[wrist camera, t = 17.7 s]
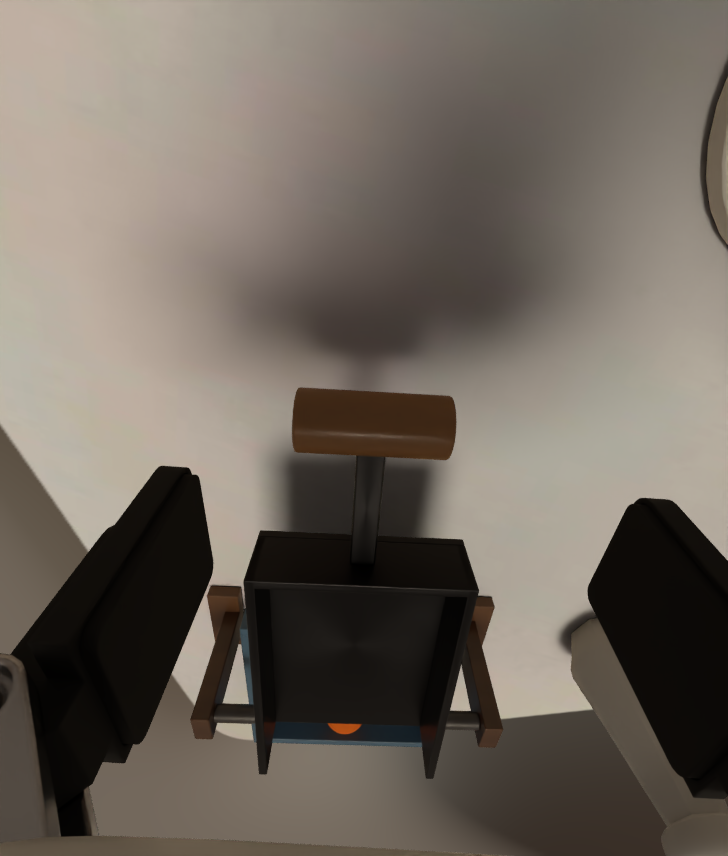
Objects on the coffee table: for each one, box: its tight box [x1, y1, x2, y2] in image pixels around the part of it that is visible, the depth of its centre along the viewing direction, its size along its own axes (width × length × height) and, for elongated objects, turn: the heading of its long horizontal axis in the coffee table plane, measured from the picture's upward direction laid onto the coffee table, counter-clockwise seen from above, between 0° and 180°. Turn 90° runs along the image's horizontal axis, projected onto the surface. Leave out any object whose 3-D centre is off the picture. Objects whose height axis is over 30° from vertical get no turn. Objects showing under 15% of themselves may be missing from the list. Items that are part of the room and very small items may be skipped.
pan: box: [244, 388, 479, 779], centre depth 18 cm, size 20×9×3 cm, turn 177°
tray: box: [240, 608, 422, 747], centre depth 30 cm, size 13×13×4 cm
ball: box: [328, 723, 362, 734], centre depth 32 cm, size 3×3×3 cm
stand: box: [190, 586, 503, 748], centre depth 27 cm, size 5×19×7 cm, turn 86°
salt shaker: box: [571, 618, 728, 856], centre depth 25 cm, size 6×6×13 cm
